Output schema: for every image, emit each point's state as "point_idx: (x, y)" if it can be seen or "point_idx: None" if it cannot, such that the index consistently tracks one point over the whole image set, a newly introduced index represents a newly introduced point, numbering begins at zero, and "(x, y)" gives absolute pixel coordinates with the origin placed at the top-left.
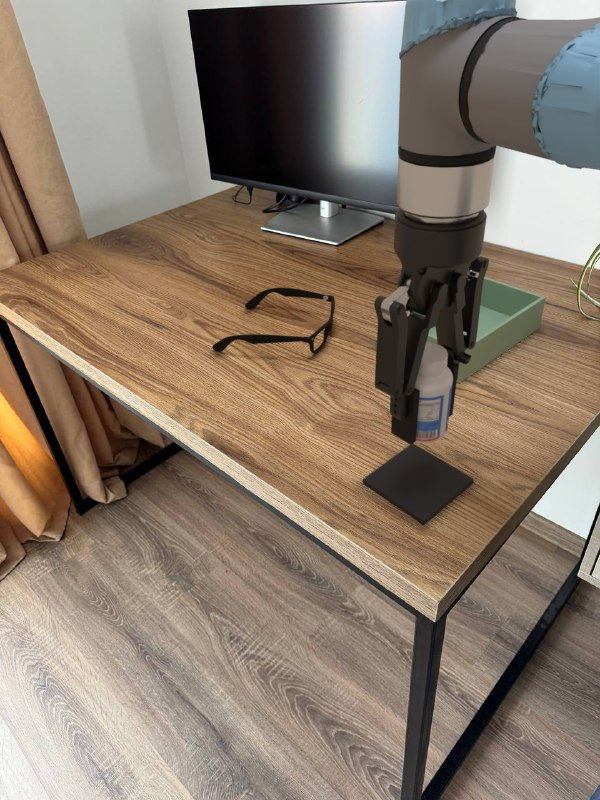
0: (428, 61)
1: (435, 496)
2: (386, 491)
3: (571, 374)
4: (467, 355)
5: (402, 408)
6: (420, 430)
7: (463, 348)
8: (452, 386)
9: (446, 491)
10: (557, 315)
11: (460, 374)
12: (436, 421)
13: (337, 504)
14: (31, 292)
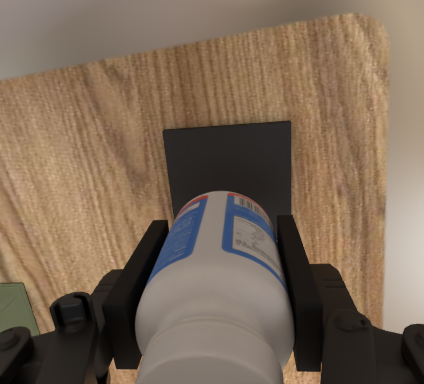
0: None
1: (237, 145)
2: (284, 200)
3: None
4: (57, 315)
5: (340, 287)
6: (267, 224)
7: (55, 346)
8: (141, 264)
9: (216, 141)
10: None
11: (11, 293)
12: (239, 215)
13: (348, 230)
14: None
